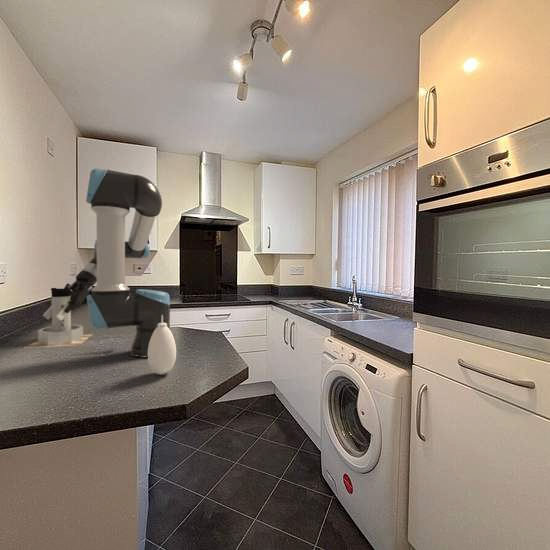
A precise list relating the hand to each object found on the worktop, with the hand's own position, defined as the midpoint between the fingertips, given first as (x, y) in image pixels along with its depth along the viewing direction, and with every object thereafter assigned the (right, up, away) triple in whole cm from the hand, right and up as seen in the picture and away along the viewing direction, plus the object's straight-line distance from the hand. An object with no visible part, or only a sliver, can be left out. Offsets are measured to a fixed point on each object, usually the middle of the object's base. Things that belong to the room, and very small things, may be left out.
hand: (52, 317), depth 116 cm
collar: (+1, -10, +4) cm, 10 cm away
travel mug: (+1, -9, +4) cm, 9 cm away
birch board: (+1, -11, +4) cm, 12 cm away
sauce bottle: (+54, -13, -28) cm, 63 cm away
